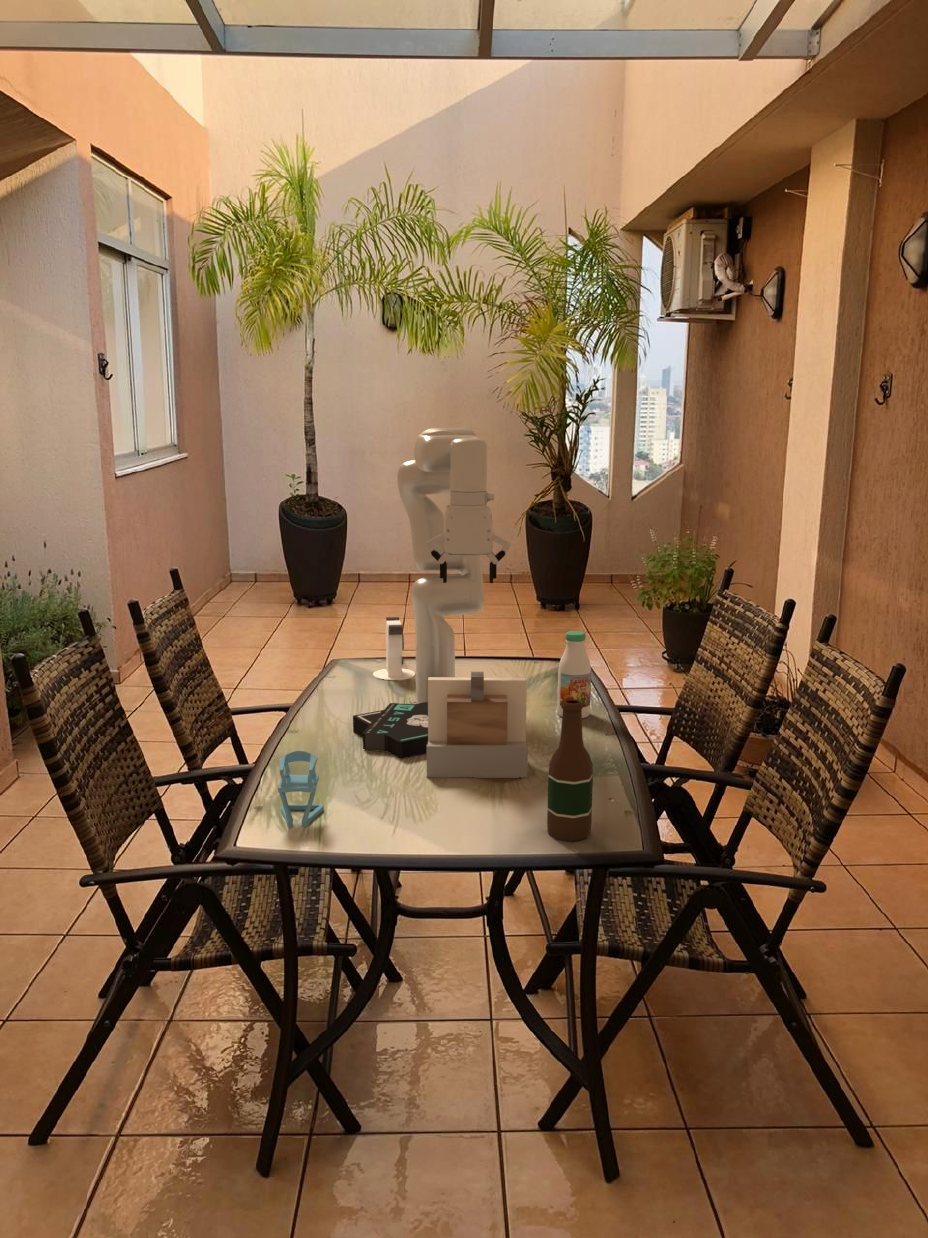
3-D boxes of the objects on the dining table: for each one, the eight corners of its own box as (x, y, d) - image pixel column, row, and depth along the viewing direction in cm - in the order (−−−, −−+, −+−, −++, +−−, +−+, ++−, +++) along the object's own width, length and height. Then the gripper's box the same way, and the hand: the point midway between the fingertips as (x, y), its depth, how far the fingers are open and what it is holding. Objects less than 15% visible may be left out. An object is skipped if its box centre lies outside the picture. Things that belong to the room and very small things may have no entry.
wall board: (428, 760, 221) (428, 677, 217) (525, 761, 221) (526, 677, 217) (426, 777, 212) (426, 690, 208) (527, 778, 211) (528, 691, 208)
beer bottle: (543, 825, 189) (546, 695, 184) (587, 823, 190) (590, 694, 184) (550, 843, 181) (553, 708, 176) (595, 842, 182) (599, 707, 177)
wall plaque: (332, 755, 225) (471, 765, 219) (331, 737, 224) (471, 747, 218) (372, 713, 254) (496, 721, 248) (371, 696, 253) (496, 704, 247)
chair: (274, 828, 188) (272, 763, 185) (281, 809, 196) (279, 747, 193) (318, 827, 188) (316, 763, 185) (323, 808, 196) (322, 747, 193)
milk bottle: (550, 714, 252) (552, 632, 248) (572, 708, 257) (574, 627, 253) (574, 722, 247) (576, 638, 242) (596, 715, 252) (599, 633, 247)
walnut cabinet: (447, 741, 218) (447, 670, 214) (506, 741, 217) (507, 671, 214) (446, 749, 213) (446, 677, 209) (506, 750, 213) (507, 677, 209)
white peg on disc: (417, 680, 280) (417, 625, 277) (374, 682, 279) (373, 626, 276) (413, 668, 292) (412, 615, 289) (371, 670, 290) (370, 616, 287)
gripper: (510, 497, 221) (509, 579, 224) (426, 497, 221) (427, 578, 224) (511, 501, 213) (510, 585, 217) (425, 501, 213) (425, 585, 217)
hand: (468, 582), depth 221 cm, fingers open, 9 cm apart
